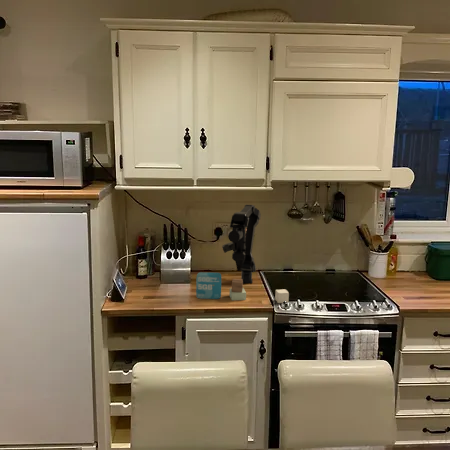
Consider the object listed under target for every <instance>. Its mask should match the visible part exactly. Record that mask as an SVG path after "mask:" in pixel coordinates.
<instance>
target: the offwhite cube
mask: <svg viewBox="0 0 450 450" xmlns="http://www.w3.org/2000/svg"><path fill="white" fill-rule="evenodd" d="M274 297H275V298H274V300H275V301H276V302H277V304H284V303H283V302H284V301H286V302H288V303H289V299H290V298H289V297H290V293H289V291H288V290H287V289H283V288H282V289H275V296H274Z"/></svg>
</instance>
